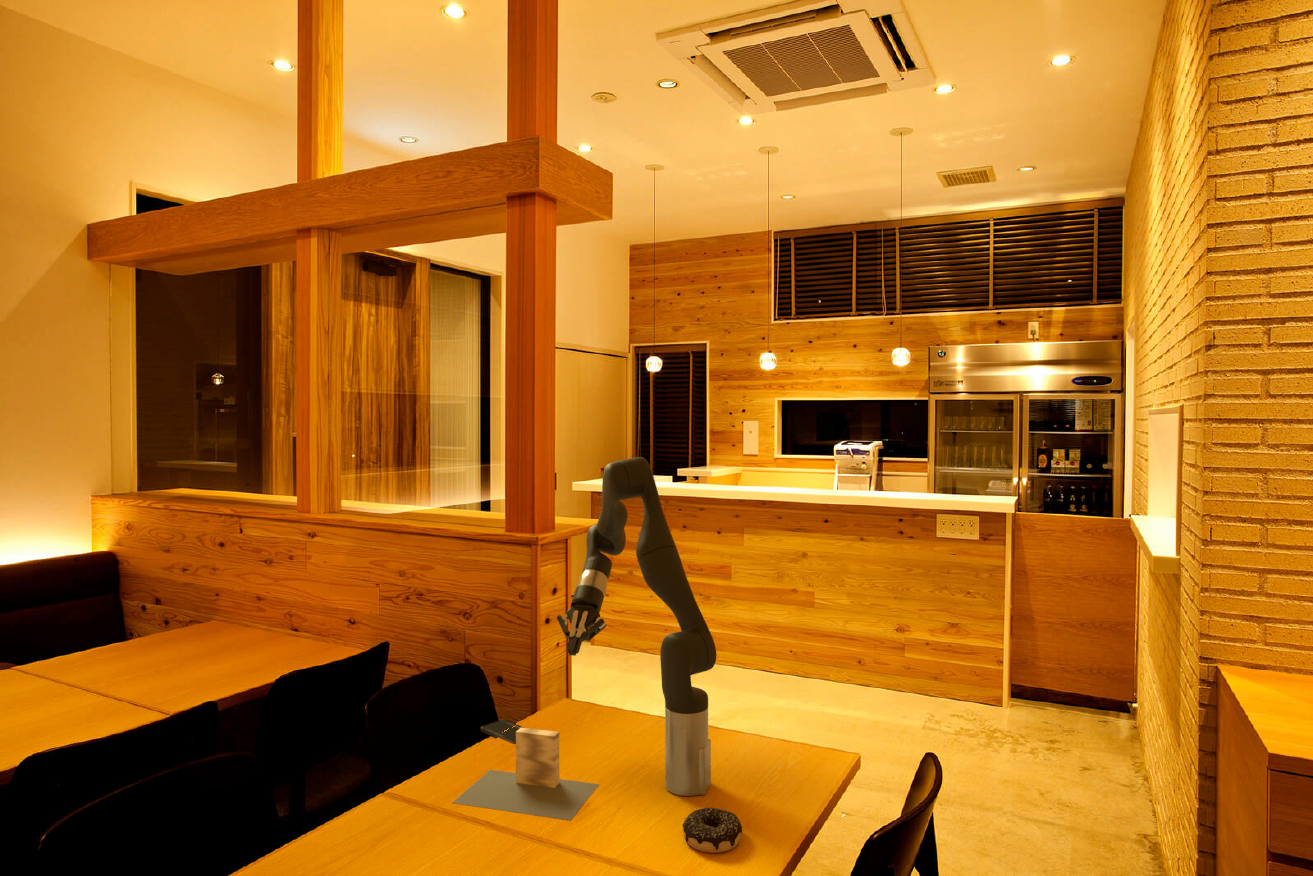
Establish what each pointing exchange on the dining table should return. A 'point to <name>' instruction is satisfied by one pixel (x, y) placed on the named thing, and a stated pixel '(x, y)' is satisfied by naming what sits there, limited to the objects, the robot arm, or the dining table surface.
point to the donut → (712, 830)
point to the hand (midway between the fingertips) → (571, 653)
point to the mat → (527, 796)
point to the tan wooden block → (537, 757)
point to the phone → (502, 730)
